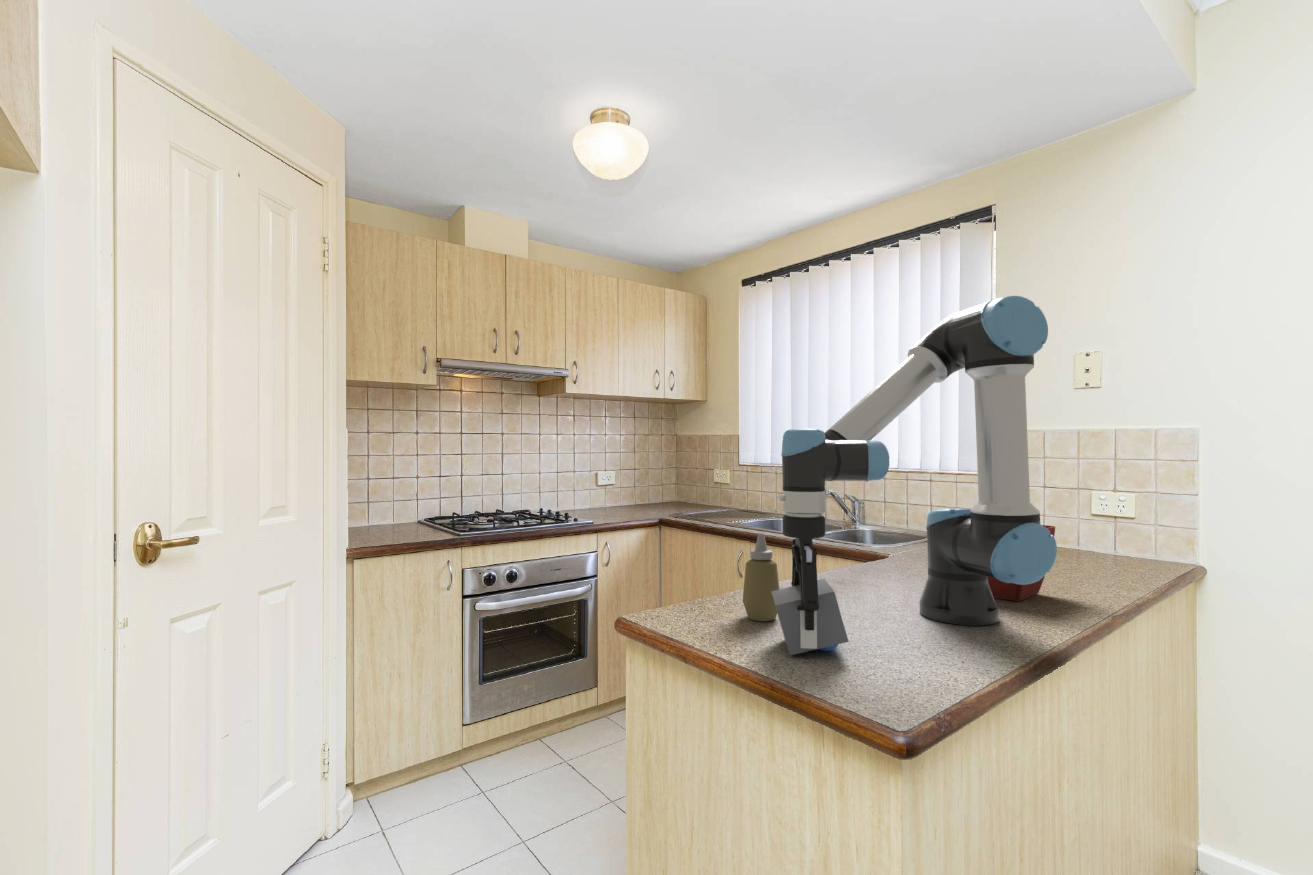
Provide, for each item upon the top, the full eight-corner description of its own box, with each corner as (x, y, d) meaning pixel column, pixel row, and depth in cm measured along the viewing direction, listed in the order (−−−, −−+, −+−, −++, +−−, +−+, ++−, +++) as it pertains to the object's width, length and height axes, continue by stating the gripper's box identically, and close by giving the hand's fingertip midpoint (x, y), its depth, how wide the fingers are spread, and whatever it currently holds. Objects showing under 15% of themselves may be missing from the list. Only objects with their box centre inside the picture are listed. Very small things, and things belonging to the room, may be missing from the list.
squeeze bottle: (781, 624, 121) (780, 536, 122) (741, 622, 123) (740, 535, 123) (780, 614, 129) (780, 531, 130) (743, 612, 131) (743, 530, 131)
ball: (807, 619, 109) (810, 646, 109) (812, 627, 104) (815, 656, 104) (835, 617, 108) (837, 644, 108) (841, 625, 103) (844, 654, 103)
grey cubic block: (837, 624, 111) (824, 578, 111) (848, 641, 101) (834, 591, 101) (784, 636, 112) (771, 591, 112) (789, 655, 102) (775, 605, 102)
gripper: (777, 507, 119) (777, 619, 118) (789, 521, 96) (789, 658, 96) (815, 508, 118) (816, 620, 117) (836, 522, 95) (837, 660, 95)
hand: (804, 637), depth 107 cm, fingers closed on grey cubic block, 10 cm apart
